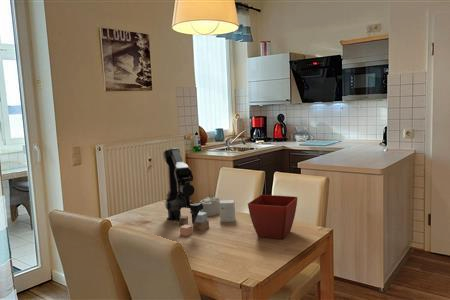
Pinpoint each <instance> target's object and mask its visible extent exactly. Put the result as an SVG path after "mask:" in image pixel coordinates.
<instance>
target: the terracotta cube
mask: <svg viewBox="0 0 450 300" xmlns="http://www.w3.org/2000/svg"><path fill="white" fill-rule="evenodd" d="M193 233H194V229H193V224H192V225H191V224H187V225H180V226H179V235H180V236H185V237H189V236H190V235H192V234H193Z"/></svg>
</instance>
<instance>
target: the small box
mask: <svg viewBox="0 0 450 300" xmlns="http://www.w3.org/2000/svg"><path fill="white" fill-rule="evenodd" d="M235 205H236V204H235V200H234V199H231V200H230V199H229V200H222V201H220V203H219V207H220V214H219V220H220V222H222V223H224V222H227V223H229V222H235V221H236V207H235Z"/></svg>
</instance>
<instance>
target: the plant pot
mask: <svg viewBox="0 0 450 300" xmlns="http://www.w3.org/2000/svg"><path fill="white" fill-rule="evenodd" d="M297 205H298V196H292V195H291V196H289V195H278V194H277V195H274V194H260V195H258V196H257V197H256V198H254V199H253V200H251V201H250V202H248V203H247V208H248V212H249V215H250V219H251V220H250V221H251V223H252V226H253V229H254V231H255V233H256V236H257V237H259V238H269V239H277V240H284V239H285V238H286V237H287V235H288V234H289V233H290V232H291V230H292V227H293V224H294V221H295V216H296V211H297Z"/></svg>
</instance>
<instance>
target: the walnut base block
mask: <svg viewBox="0 0 450 300" xmlns="http://www.w3.org/2000/svg"><path fill="white" fill-rule="evenodd" d="M192 227H193V231H194V230H195V231H201V232H203V231H205V230H206V229H208V228H210V220H209V219H207V221H205V222H203V223H198V222H195V223H194V224H192Z"/></svg>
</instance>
